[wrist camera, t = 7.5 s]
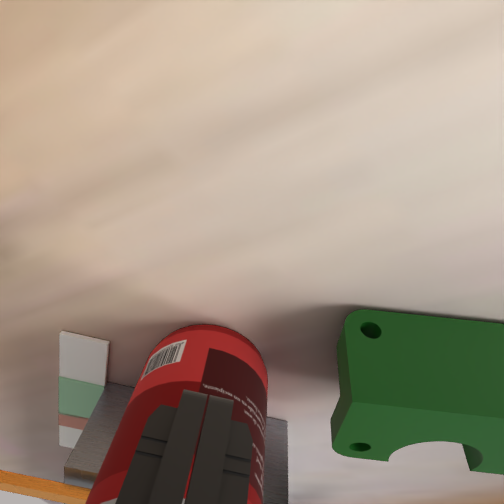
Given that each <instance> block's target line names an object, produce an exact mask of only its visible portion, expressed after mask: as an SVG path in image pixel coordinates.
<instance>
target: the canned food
mask: <svg viewBox="0 0 504 504" xmlns="http://www.w3.org/2000/svg"><path fill="white" fill-rule="evenodd" d="M184 389H185V390H190V391H194V392H199V393H203V394H208V395H207V400H206V404H205V408H204V412H203V417H202V421H201V425H200V429H199V434H198V438H197V442H196V446H195V451H194V455H193V459H192V463H191V468H190V472H189V476H188V480H187V485H186V489H185V493H184V497H183V502H182V504H184V503H185V499H186V494H187V490H188V486H189V481H190V477H191V472H192V468H193V464H194V459H195V455H196V451H197V446H198V442H199V438H200V434H201V429H202V425H203V421H204V417H205V413H206V409H207V405H208V400H209V396H210V395H213V396H217V397H221V398H226V399H230V400H234V403H233V410H232V416H231V420H234V421H238V422H242V423H247V424H248V427H249V430H250V433H251V436H252V440H253V447H252V457H251V468H250V476H249V490H248V500H247V504H263V490H264V465H265V440H266V414H267V389H268V378H267V371H266V368H265V365H264V362H263V360H262V357H261V355H260V353H259V352H258V350H257V349H256V347H255V346H254V345H253V344H252V343H251V342H250V341H249V340H248V339H247V338H245V337H244V336H242V335H241V334H239V333H237V332H235V331H233V330H230V329H228V328H225V327H220V326H216V325H205V324H203V325H192V326H188V327H184V328H181V329H179V330H176V331H174V332H172V333H171V334H169V335H168V336H167V337H165V338H164V339H163V340H162V341H161V342H160V343H159V344H158V345H157V346H156V347H155V348H154V350H153V351H152V352H151V353H150V355H149V357H148V359H147V362H146V364H145V366H144V368H143V371H142V373H141V375H140V378H139V380H138V382H137V385H136V387H135V389H134V392H133V394H132V396H131V399H130V401H129V403H128V405H127V408H126V410H125V412H124V415H123V417H122V419H121V422H120V424H119V426H118V429H117V431H116V433H115V436H114V438H113V440H112V442H111V445H110V447H109V449H108V452H107V454H106V456H105V459H104V461H103V463H102V466H101V468H100V470H99V473H98V475H97V477H96V480H95V482H94V484H93V486H92V489H91V491H90V493H89V496H88V498H87V500H86V503H85V504H115V503H116V500H117V498H118V495H119V492H120V490H121V487H122V485H123V482H124V479H125V477H126V474H127V471H128V469H129V466H130V464H131V461H132V458H133V456H134V454H135V451H136V448H137V445H138V443H139V440H140V438H141V435H142V432H143V429H144V427H145V424H146V422H147V419H148V417H149V416H150V415H151V414H152V413H153V412H154V411H155V410H156V409H157V408H158V407H159V406H160V405H161V404H162V405H166V406H171V407H175V408H178V406H179V402H180V399H181V396H182V393H183V390H184Z"/></svg>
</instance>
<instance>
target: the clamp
mask: <svg viewBox="0 0 504 504" xmlns="http://www.w3.org/2000/svg"><path fill="white" fill-rule="evenodd" d="M337 361H338V373H339V385H340V398H339V401H338V403H337V405H336V408H335V410H334V412H333V415H332V417H331V436H332V448H333V450H334V451H335V452H337V453H338V454H341V455H343V456H347V457H353V458H362V459H371V460H380V461H388V459H389V456H390V455H391V454H392V453H393V452H394V451H396V450H398V449H400V448H402V447H405V446H408V445H411V444H415V443H421V442H430V441H447V442H456V443H462V445H463V449H464V452H465V455H466V459H467V462H468V466H469V469H470V471H476V472H485V473H494V474H503V475H504V324H501V323H491V322H481V321H472V320H462V319H453V318H443V317H434V316H424V315H415V314H405V313H396V312H386V311H377V310H367V309H362V310H356V311H354V312H352V313H350V314H349V315H348V316H347V318H346V320H345V323H344V326H343V328H342V331H341V334H340V337H339V340H338V343H337Z"/></svg>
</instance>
